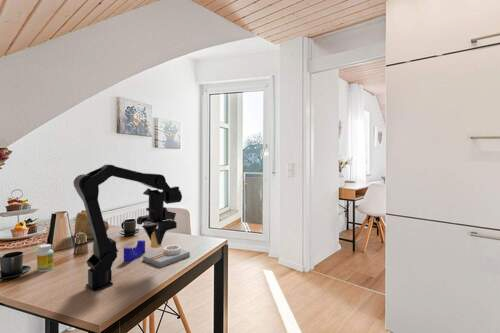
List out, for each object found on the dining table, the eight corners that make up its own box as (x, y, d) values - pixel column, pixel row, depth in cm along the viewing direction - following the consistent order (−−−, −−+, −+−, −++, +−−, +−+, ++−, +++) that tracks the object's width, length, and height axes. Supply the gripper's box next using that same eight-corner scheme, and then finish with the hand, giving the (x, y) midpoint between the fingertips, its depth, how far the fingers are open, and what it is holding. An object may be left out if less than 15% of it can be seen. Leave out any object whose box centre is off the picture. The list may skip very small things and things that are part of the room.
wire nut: (155, 248, 111) (155, 233, 111) (148, 246, 113) (149, 232, 113) (163, 246, 114) (163, 231, 114) (157, 244, 117) (157, 230, 117)
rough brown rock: (107, 243, 149) (109, 214, 149) (70, 244, 142) (73, 214, 142) (108, 233, 170) (110, 208, 171) (76, 233, 163) (78, 207, 163)
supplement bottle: (41, 267, 114) (41, 243, 114) (56, 266, 115) (56, 243, 115) (34, 272, 109) (33, 248, 109) (49, 271, 110) (49, 247, 110)
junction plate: (160, 267, 116) (160, 257, 116) (143, 260, 123) (143, 251, 123) (189, 256, 129) (189, 247, 129) (172, 250, 136) (172, 242, 136)
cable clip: (136, 252, 133) (136, 239, 133) (145, 253, 133) (145, 240, 132) (120, 261, 121) (120, 248, 121) (130, 262, 121) (130, 248, 120)
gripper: (187, 205, 114) (187, 243, 115) (158, 200, 125) (159, 235, 126) (164, 209, 105) (164, 250, 106) (135, 203, 116) (136, 241, 117)
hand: (156, 243), depth 114 cm, fingers closed on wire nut, 4 cm apart
